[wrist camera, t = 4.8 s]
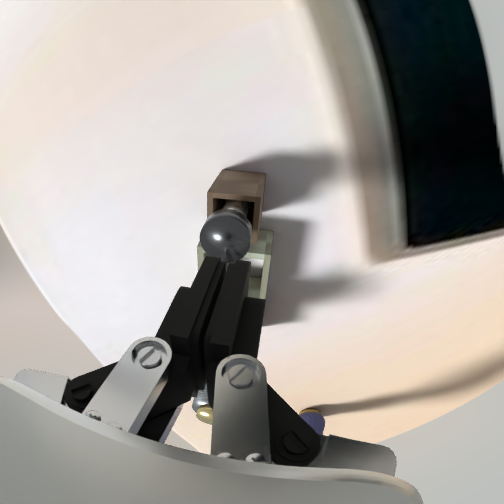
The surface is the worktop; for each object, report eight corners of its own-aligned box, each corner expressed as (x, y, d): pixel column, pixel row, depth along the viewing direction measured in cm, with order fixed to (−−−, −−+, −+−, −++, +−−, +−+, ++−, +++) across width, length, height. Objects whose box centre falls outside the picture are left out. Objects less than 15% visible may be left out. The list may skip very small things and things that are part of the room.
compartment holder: (280, 175, 18) (278, 199, 15) (260, 327, 26) (256, 362, 22) (208, 168, 18) (190, 190, 15) (210, 320, 26) (200, 354, 23)
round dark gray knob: (262, 178, 18) (252, 221, 13) (258, 212, 19) (248, 265, 14) (224, 174, 18) (199, 215, 13) (222, 208, 19) (200, 259, 14)
